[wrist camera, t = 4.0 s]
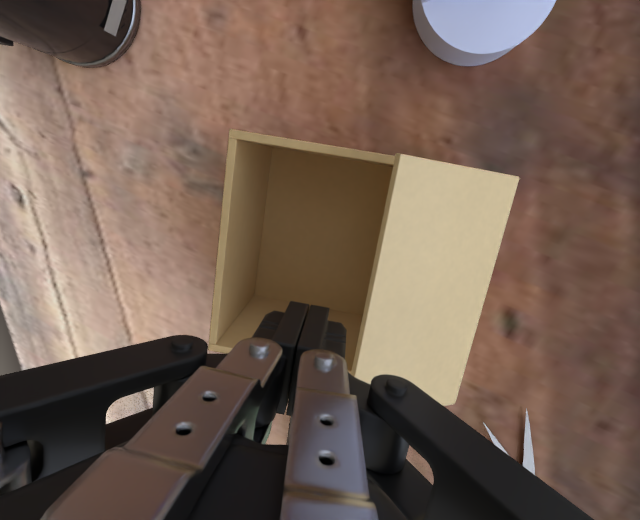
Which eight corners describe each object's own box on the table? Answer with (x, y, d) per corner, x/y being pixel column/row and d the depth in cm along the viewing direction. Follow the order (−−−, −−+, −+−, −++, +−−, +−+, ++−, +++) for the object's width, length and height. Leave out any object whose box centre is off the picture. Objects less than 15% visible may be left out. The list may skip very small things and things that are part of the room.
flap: (513, 176, 21) (520, 176, 20) (450, 400, 24) (455, 404, 24) (395, 153, 17) (400, 153, 17) (341, 419, 21) (344, 423, 20)
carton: (461, 172, 31) (513, 175, 21) (422, 329, 35) (451, 397, 25) (269, 140, 32) (229, 128, 22) (249, 297, 35) (207, 350, 25)
